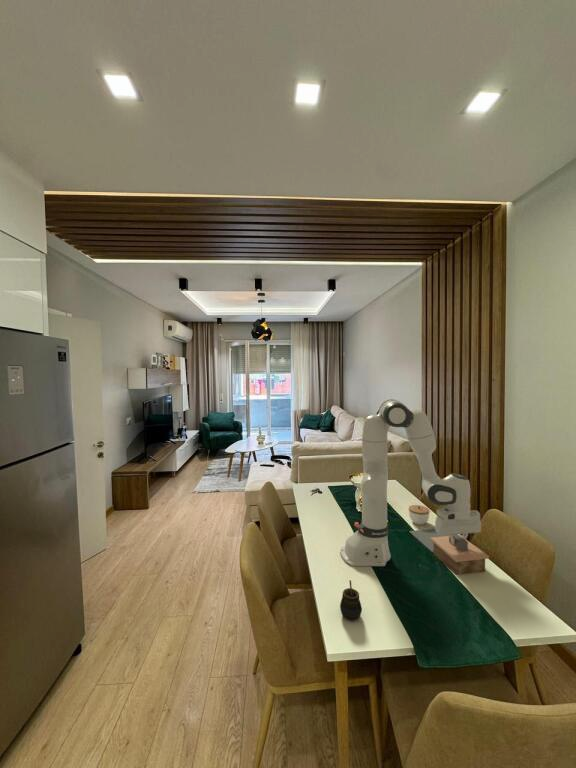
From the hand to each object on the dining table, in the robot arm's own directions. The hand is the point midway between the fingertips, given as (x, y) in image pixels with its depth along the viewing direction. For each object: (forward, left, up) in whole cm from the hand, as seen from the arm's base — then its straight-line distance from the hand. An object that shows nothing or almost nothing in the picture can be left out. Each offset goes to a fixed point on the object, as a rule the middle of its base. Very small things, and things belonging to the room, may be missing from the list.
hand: (458, 542), depth 143 cm
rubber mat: (+3, +19, -9) cm, 21 cm away
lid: (0, 0, -3) cm, 3 cm away
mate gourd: (-57, -22, -9) cm, 62 cm away
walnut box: (0, 0, -9) cm, 9 cm away
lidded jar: (+5, +38, -9) cm, 39 cm away
